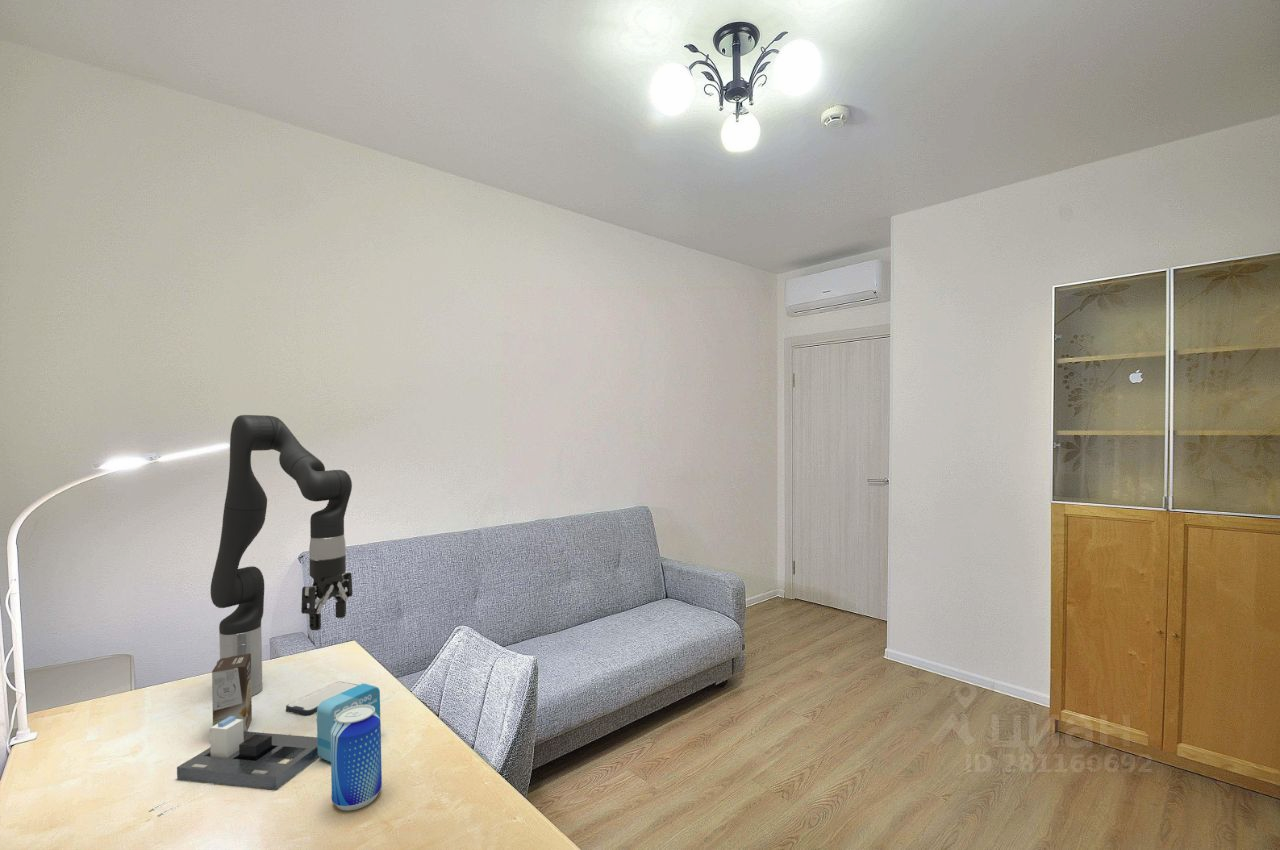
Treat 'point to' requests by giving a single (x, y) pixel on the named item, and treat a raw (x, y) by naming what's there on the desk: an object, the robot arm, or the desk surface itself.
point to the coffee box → (232, 689)
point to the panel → (254, 762)
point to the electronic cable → (175, 806)
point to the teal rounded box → (335, 705)
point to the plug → (226, 737)
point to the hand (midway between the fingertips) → (328, 623)
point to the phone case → (317, 698)
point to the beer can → (356, 757)
